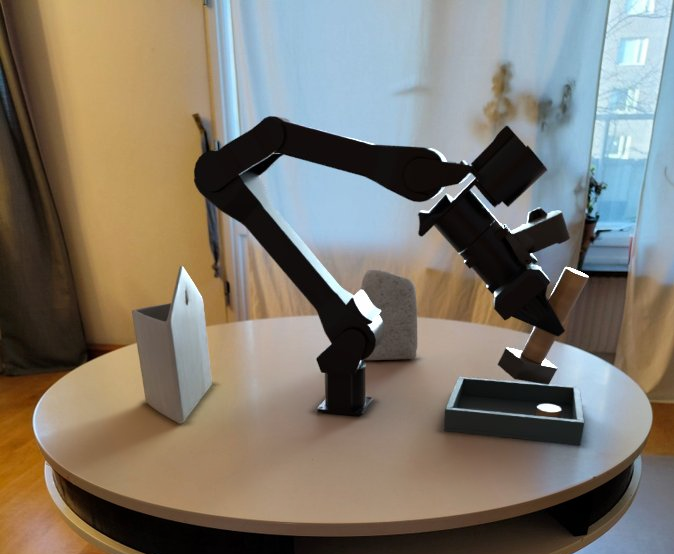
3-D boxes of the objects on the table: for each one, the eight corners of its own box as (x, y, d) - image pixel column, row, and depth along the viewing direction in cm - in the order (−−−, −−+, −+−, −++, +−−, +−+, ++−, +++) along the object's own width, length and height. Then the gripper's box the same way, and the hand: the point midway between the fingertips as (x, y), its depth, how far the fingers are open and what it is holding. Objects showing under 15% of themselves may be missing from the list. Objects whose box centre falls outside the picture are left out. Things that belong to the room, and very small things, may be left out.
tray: (580, 445, 74) (584, 422, 73) (443, 430, 79) (445, 409, 78) (576, 406, 86) (579, 386, 85) (457, 395, 91) (458, 376, 89)
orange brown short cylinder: (556, 428, 78) (559, 413, 77) (533, 424, 79) (534, 409, 78) (561, 420, 80) (563, 405, 80) (537, 416, 82) (539, 402, 81)
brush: (514, 379, 77) (570, 272, 70) (497, 364, 80) (549, 260, 73) (548, 385, 80) (605, 283, 73) (530, 370, 83) (583, 271, 76)
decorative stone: (416, 353, 111) (420, 268, 105) (417, 363, 106) (421, 274, 99) (356, 352, 112) (356, 268, 106) (354, 362, 107) (354, 274, 100)
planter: (163, 383, 97) (145, 257, 89) (212, 384, 97) (199, 257, 89) (125, 423, 83) (100, 276, 74) (183, 424, 82) (164, 276, 74)
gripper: (540, 188, 62) (635, 301, 65) (526, 182, 78) (602, 272, 81) (455, 266, 67) (547, 369, 69) (459, 245, 83) (533, 328, 86)
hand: (560, 330), depth 76 cm, fingers closed on brush, 3 cm apart
